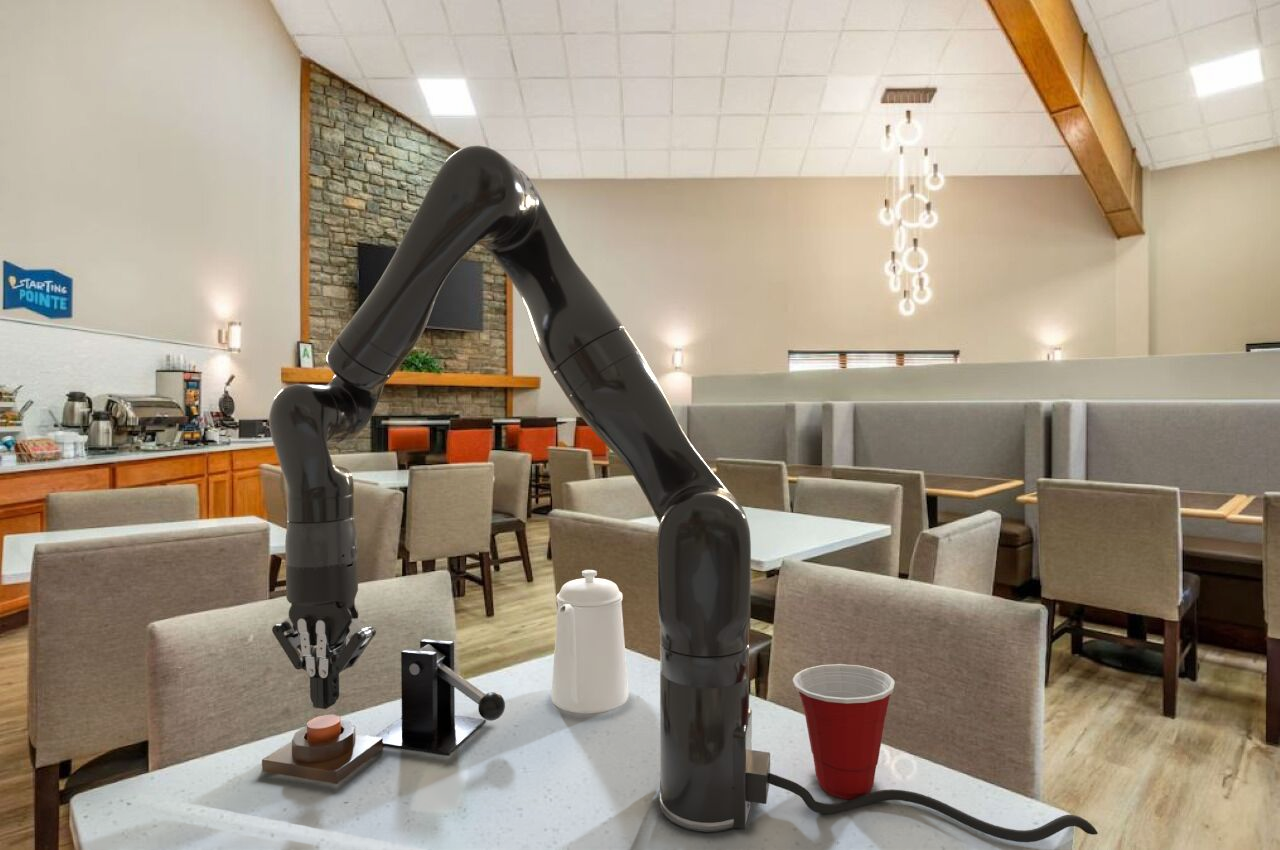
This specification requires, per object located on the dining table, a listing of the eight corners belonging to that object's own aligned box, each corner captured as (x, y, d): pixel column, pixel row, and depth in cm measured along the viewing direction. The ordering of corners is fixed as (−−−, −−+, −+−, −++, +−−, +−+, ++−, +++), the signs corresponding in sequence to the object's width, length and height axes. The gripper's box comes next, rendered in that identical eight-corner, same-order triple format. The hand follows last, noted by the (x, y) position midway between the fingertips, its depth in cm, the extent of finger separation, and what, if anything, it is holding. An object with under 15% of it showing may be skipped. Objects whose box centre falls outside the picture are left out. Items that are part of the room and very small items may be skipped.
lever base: (485, 728, 88) (485, 638, 87) (448, 763, 79) (447, 663, 79) (412, 718, 91) (411, 631, 90) (368, 750, 82) (367, 654, 82)
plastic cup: (813, 750, 82) (814, 652, 82) (906, 778, 76) (906, 672, 75) (776, 790, 73) (776, 681, 73) (877, 826, 67) (878, 706, 67)
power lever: (502, 718, 84) (513, 697, 83) (490, 730, 81) (501, 708, 80) (421, 660, 87) (432, 639, 86) (406, 669, 84) (417, 648, 83)
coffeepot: (519, 742, 84) (518, 592, 83) (577, 667, 108) (577, 551, 108) (604, 751, 82) (603, 597, 81) (644, 672, 106) (643, 554, 106)
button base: (383, 755, 81) (383, 722, 81) (336, 792, 73) (336, 755, 73) (313, 744, 84) (313, 713, 83) (261, 778, 76) (261, 743, 76)
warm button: (347, 731, 79) (347, 716, 79) (325, 745, 76) (325, 730, 76) (322, 727, 80) (322, 712, 80) (299, 741, 77) (299, 726, 77)
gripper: (249, 561, 76) (252, 713, 76) (348, 567, 72) (351, 727, 73) (299, 548, 83) (302, 687, 84) (391, 553, 80) (394, 698, 80)
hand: (325, 705), depth 78 cm, fingers closed
